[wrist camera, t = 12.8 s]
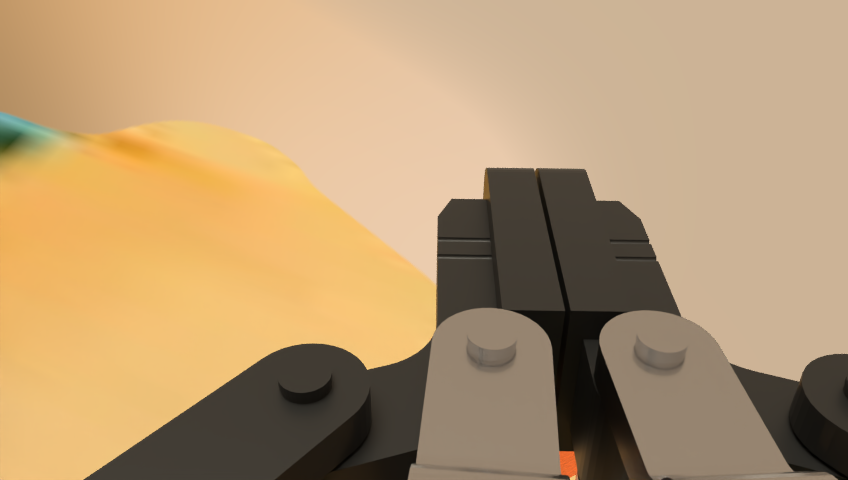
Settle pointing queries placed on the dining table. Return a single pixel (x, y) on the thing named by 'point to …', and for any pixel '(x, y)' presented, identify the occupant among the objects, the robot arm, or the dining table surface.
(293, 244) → the dining table surface
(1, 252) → the dining table surface
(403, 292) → the dining table surface
